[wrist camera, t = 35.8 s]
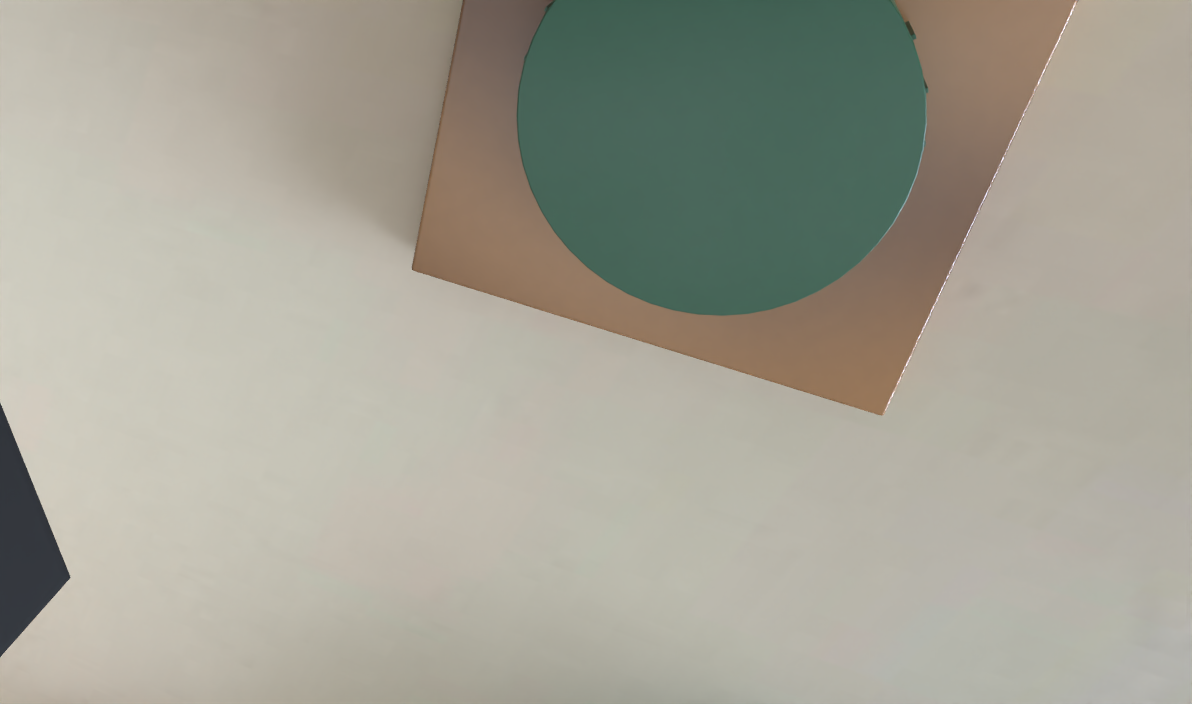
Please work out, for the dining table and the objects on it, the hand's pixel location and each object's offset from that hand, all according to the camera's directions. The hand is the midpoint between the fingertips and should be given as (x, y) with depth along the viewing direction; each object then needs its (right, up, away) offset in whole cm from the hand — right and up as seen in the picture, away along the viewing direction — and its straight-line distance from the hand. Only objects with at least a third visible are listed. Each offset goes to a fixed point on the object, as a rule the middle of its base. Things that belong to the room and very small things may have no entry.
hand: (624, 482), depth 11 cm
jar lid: (+2, +6, +12) cm, 13 cm away
